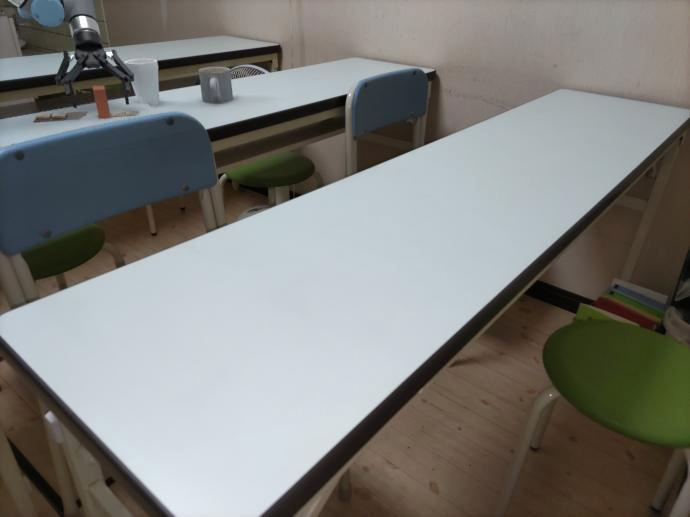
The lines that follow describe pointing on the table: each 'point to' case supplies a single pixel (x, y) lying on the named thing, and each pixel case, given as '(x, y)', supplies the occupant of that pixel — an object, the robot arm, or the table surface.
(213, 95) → the coffee mug
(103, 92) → the orange rectangular block
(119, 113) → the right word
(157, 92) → the foam cup
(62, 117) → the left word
